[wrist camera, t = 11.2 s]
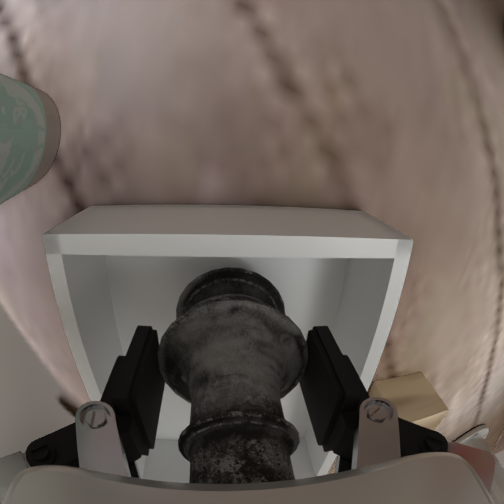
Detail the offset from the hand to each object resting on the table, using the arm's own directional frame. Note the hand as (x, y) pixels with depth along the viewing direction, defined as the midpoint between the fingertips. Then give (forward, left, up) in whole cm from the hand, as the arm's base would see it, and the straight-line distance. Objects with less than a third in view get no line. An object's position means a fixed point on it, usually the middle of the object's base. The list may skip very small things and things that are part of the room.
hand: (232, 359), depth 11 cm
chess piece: (0, 0, -3) cm, 3 cm away
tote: (-5, 0, -6) cm, 7 cm away
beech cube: (-11, -14, -6) cm, 18 cm away
